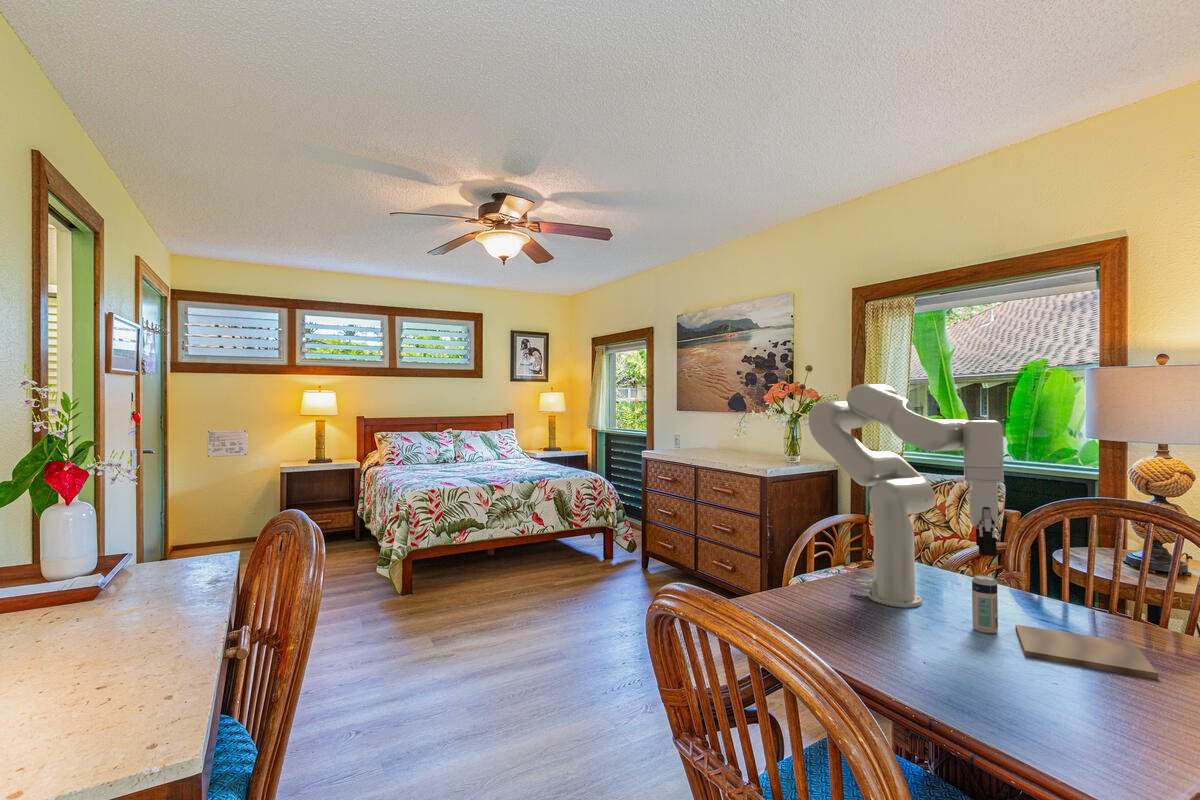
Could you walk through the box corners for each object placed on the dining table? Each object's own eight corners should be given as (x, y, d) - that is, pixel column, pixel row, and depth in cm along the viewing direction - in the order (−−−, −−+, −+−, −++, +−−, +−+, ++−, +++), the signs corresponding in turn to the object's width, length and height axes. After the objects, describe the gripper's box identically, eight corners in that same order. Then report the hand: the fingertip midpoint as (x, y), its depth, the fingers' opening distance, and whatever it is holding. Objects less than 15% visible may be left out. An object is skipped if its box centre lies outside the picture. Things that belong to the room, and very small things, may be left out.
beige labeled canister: (990, 627, 132) (989, 574, 132) (1002, 635, 128) (1001, 581, 128) (968, 626, 133) (967, 574, 133) (979, 634, 128) (979, 580, 128)
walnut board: (1025, 656, 117) (1024, 650, 117) (1015, 629, 131) (1015, 624, 131) (1158, 679, 107) (1158, 673, 107) (1132, 648, 120) (1132, 642, 120)
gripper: (962, 470, 140) (964, 541, 139) (965, 477, 125) (968, 557, 124) (1000, 471, 136) (1002, 544, 135) (1008, 479, 121) (1010, 561, 121)
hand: (986, 550), depth 130 cm, fingers open, 9 cm apart
